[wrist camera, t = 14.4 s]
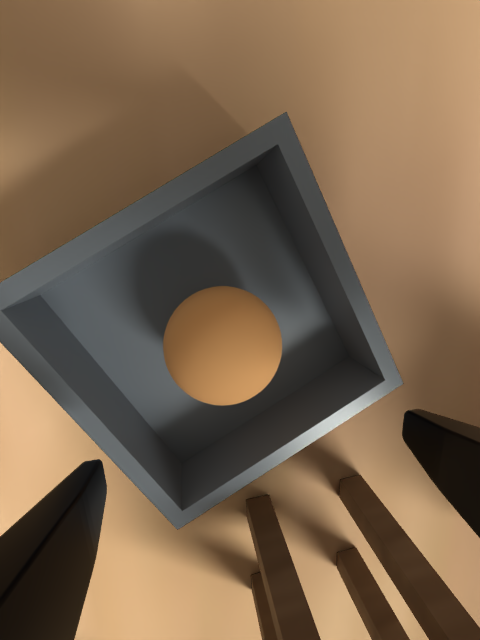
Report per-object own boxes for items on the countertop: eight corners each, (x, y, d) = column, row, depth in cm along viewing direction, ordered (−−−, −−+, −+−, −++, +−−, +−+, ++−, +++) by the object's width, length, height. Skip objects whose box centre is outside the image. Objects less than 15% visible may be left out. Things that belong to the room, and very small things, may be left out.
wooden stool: (246, 499, 15) (313, 753, 8) (360, 474, 16) (516, 675, 9) (251, 590, 17) (311, 871, 9) (355, 562, 18) (482, 793, 11)
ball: (232, 259, 12) (261, 268, 8) (279, 341, 13) (322, 382, 9) (143, 314, 11) (129, 350, 8) (199, 391, 13) (211, 455, 9)
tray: (258, 143, 11) (286, 111, 8) (359, 355, 14) (403, 383, 12) (19, 287, 11) (-36, 303, 8) (177, 471, 14) (177, 529, 11)
